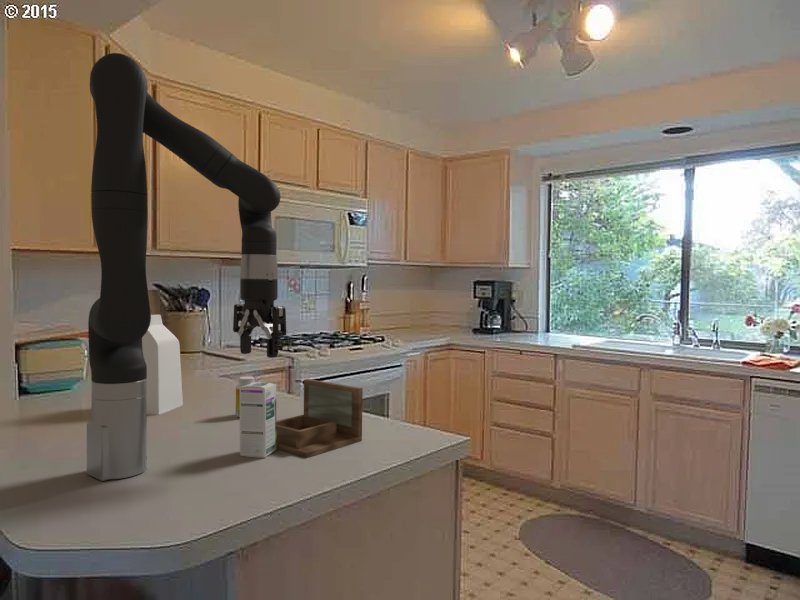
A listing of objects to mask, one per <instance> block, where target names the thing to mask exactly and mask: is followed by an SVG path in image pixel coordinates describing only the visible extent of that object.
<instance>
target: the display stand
mask: <svg viewBox="0 0 800 600" xmlns="http://www.w3.org/2000/svg"><path fill="white" fill-rule="evenodd" d="M363 393H364V392H363V387H358V386H353V385H346V384H340V383H333V382H328V381H322V380H316V379H311V378H306V379H303V414H301V415H295V416H291V417H288V418H283V419H280V420H276V422H277V450H280V451H283V452H286V453H290V454H293V455H296V456H301V457H304V458H307V459H308V458H311V457H315V456H318V455H321V454H323V453H327V452H331V451H333V450H336V449H340V448H342V447H346V446H350V445H353V444H355V443H359V442H362V441H363Z"/></svg>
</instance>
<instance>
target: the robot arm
mask: <svg viewBox="0 0 800 600" xmlns="http://www.w3.org/2000/svg"><path fill="white" fill-rule="evenodd" d="M148 89H149V88H148V81H147V77H146V74H145V72H144V70H143V68H142V67H141V66H140V64H138V62H136V61H135V60H134V59H133V58H132V57H130V56H129V55H126V54H124V53H119V52H112V53H107V54H105V55H103V56H102V57H100V58H99V59H98V60H97V61H96V62H95V63H94V64H93V66H92V67H91V70H90V73H89V91H90V94H91V97H92V100H93V101H94V105H95V117H96V142H95V148H94V149H95V150H94V156H93V161H92V162H93V163H92V170H91V172H92V173H91V183H90V184H91V185H90V186H91V187H90V202H91V203H90V204H91V208H90V209H91V221H92V222H91V223H92V228H93V234H94V238H95V242H96V243H95V244H96V245H97V247H96V248H97V249H98V255H99V259H100V260H99V261H100V266H101V267H100V269H101V273H100V275H101V280H100V293H99V298H97V299H96V300H95V301H94V303H93V304H92V306H91V308H90V310H89V313H88V323H87V324H88V325H87V326H88V333H87V335H88V361H89V367H90V373H91V374H90V376H91V378H90V379H91V380H90V381H91V417H90V418H91V421H87V423H86V474H87V475H88V476H90V477H93V478H95V479H97V480H99V481H101V482H104V481H107V480H118V479H120V480H121V479H125V478H130V477H134V476H137V475H140V474H142V473H144V472H145V471H146V470H147V465H148V464H147V461H148V454H147V451H148V449H147V443H148V442H147V441H148V440H147V439H148V438H147V435H148V434H147V433H148V431H147V430H148V429H147V426H148V425H147V423H148V418H147V416H148V414H147V366H146V362H145V360H144V356H143V350H142V337H143V336H144V335H145V334H146V332H147V330H148V328H149V326H150V322H151V315H152V313H151V305H150V297H149V289H148V288H149V287H148V281H147V271H146V270H147V269H146V268H147V264H146V263H147V262H146V261H147V250H148V249H147V246H148V219H149V217H148V216H149V214H148V213H149V211H148V210H149V209H148V208H149V207H148V206H149V203H148V202H149V201H148V197H149V195H148V180H147V179H148V178H147V177H148V176H147V165H146V156H145V148H144V138H143V137H144V135H147V136H148V137H149V138H151V139H152V140H155V141H156V142H157V143H159V144H160V145H162V146H163V147H165V148H166V149H167V150H168V151H170V152H171V153H172V154H174V155H175V156H177V157H178V158H179V159H181V160H182V161H183V162H184V163H186V164H187V165H188V166H190V168H192V169H193V170H195V171H196V172H197V173H199V174H200V175H202V176H203V177H204V178H205V179H207V180H208V181H210V183H212V184H214V186H216V187H218V188H220V189H225V190H228V191H230V192H231V193H232V194H234V195H235V196H237V197H238V200H237V201H238V202H237V203H238V216H239V223H240V227H241V259H240V264H239V265H240V266H239V268H240V269H239V279H240V280H239V281H240V283H239V287H240V288H239V290H240V291H239V292H240V293H239V297H240V300H242V301H244V303H239V304H238V303H235V304H234V305H233V320H232V321H233V322H232V324H233V326H232V330H233V332H234V333H237V335H238V337H239V345H240V346H239V350H240V354H242V355H247V354H249V355H250V354H251V352H252V335H251V334H252V332H253V330H255V328H257V327H259V328H260V329H261V330H262V331H264V333H265V336H266V337H267V339H266V357H267V358H270V359H273V358H277V357H278V355H279V339H280V338H281V337H285V336H287V321H286V320H287V315H286V312H287V311H286V309H287V308H286V307H285V306H281V305H277V306H275V301H277V300H278V297H279V296H278V291H279V289H278V285H279V283H278V279H279V277H278V275H279V271H278V269H279V268H278V267H279V266H278V258H277V244H278V243H277V232H276V230H275V229H274V228H273V226H272V224H273V223H272V212H273V211H274V210H275V209H277V208H278V206H279V205H280V202H281V200H282V199H281V192H280V189H279V187H278V185H277V184H276V183H275V182H274V181H273V180H272V179H271V178H270V177H269V176H267V175H266V174H264V173H262V172H261V171H259V170H257V169H256V168H254V167H252V166H251V165H249V164H247V163H245V162H244V161H242V160H240V159H239V158H238V157H237V156H236V155H234V154H233V153H232V152H231V151H230V150H228V148H226V147H224V146H223V144H221V143H219V142H218V141H217V140H216V139H214V138H213V137H211V136H210V135H208V134H207V133H205V132H203V131H202V130H200V129H198V128H196V127H195V126H193V125H191V124H189V123H187V122H185V121H183V120H182V119H180V118H179V117H177V116H175V115H174V114H173V113H171V112H170V111H169V110H167V109H166V108H164V107H163V106H162V104H160V103H159V102H158V101H157V100H156V99H155V98H154V97H153V96H152V95H150V93H148ZM239 323H240V325H239ZM279 325H280V329H279Z"/></svg>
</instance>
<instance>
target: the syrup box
mask: <svg viewBox="0 0 800 600" xmlns="http://www.w3.org/2000/svg"><path fill="white" fill-rule="evenodd" d="M239 390H240V417H239V455H240V456H242V457H248V458H260V459H262V458H263V459H265V458H267V457H268V456H269V455H271V454H272V453H273V452H275V451H277V450H278V449H277V422H276V421H277V383H275V382H268V381H255V382H252V383H251V384H248V385H245V386H242V387H240V388H239Z"/></svg>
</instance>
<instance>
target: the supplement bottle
mask: <svg viewBox="0 0 800 600" xmlns="http://www.w3.org/2000/svg"><path fill="white" fill-rule="evenodd" d="M252 382H256V381H255V377H254V376H247V375H246V376H240V377H239V379H238V384H237V385H236V386H235V416H236V417H237V418H240V390H239V388H240V387H242V386H245V385H248V384H251V383H252Z"/></svg>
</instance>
